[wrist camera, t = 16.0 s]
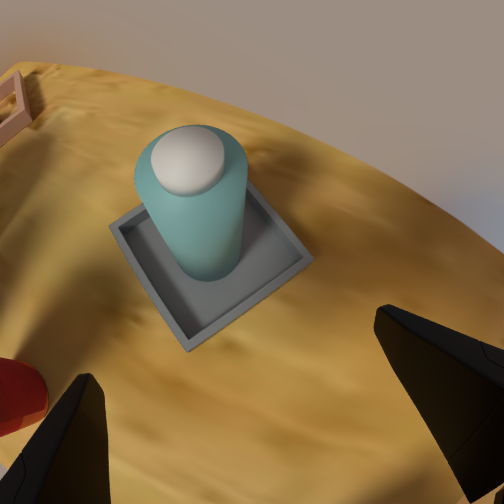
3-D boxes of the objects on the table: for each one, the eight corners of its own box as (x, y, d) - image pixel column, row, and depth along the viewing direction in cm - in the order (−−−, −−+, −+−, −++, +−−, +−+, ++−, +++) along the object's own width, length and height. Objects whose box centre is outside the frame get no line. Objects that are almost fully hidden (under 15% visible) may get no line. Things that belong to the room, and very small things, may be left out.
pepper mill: (221, 293, 22) (210, 229, 10) (163, 263, 22) (105, 179, 11) (251, 236, 23) (269, 133, 12) (195, 209, 24) (171, 99, 12)
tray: (189, 352, 21) (186, 352, 19) (116, 235, 23) (108, 225, 21) (307, 266, 24) (314, 259, 22) (226, 167, 26) (226, 153, 24)
